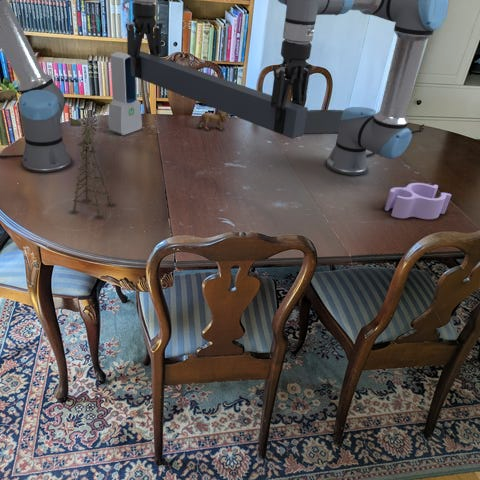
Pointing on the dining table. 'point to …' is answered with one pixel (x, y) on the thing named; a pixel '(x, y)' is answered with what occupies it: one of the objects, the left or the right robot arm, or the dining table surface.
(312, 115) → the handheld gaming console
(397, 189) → the clip
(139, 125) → the electronic device
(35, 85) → the left robot arm
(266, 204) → the dining table surface
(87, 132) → the miniature windmill
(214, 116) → the lion figurine
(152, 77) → the post
